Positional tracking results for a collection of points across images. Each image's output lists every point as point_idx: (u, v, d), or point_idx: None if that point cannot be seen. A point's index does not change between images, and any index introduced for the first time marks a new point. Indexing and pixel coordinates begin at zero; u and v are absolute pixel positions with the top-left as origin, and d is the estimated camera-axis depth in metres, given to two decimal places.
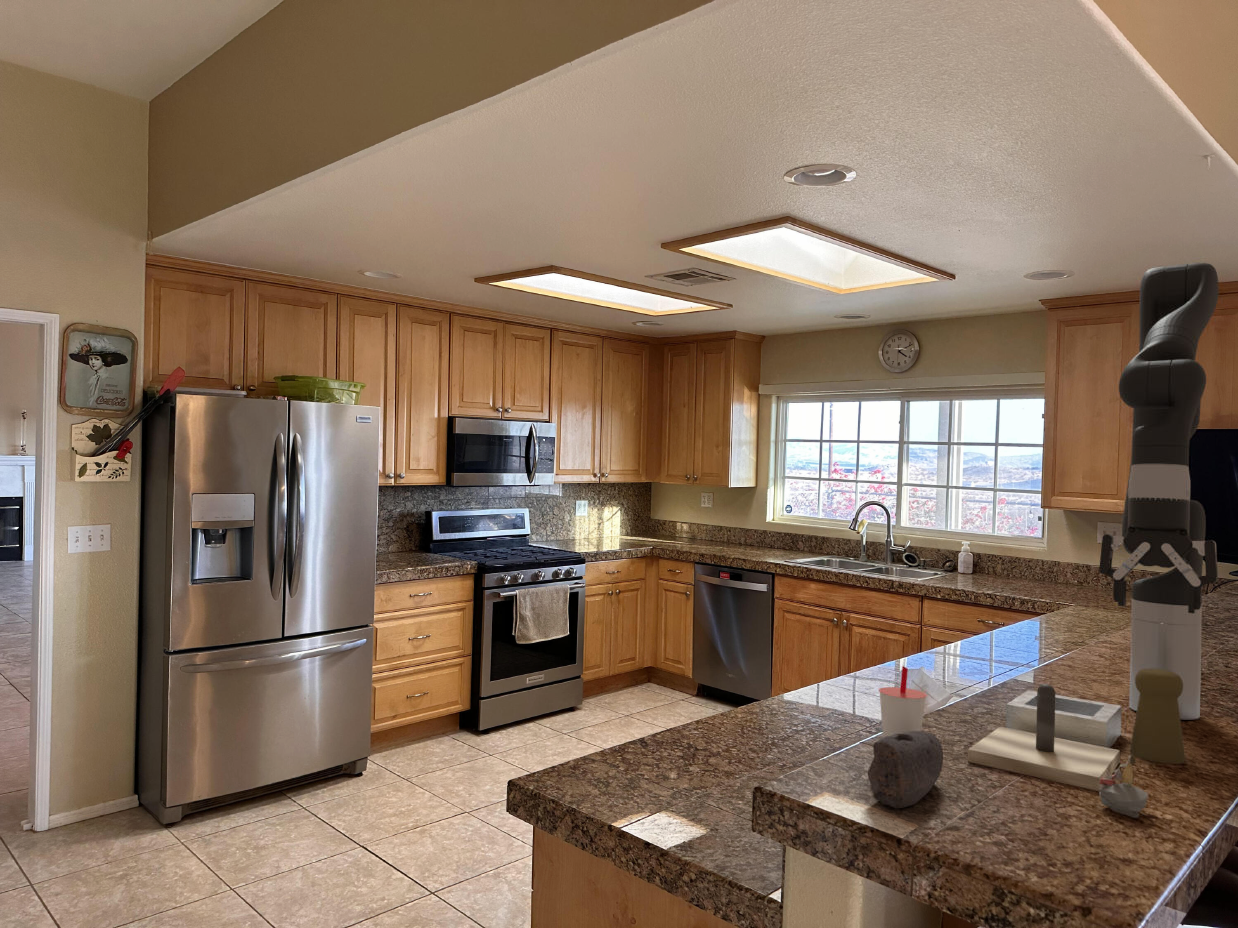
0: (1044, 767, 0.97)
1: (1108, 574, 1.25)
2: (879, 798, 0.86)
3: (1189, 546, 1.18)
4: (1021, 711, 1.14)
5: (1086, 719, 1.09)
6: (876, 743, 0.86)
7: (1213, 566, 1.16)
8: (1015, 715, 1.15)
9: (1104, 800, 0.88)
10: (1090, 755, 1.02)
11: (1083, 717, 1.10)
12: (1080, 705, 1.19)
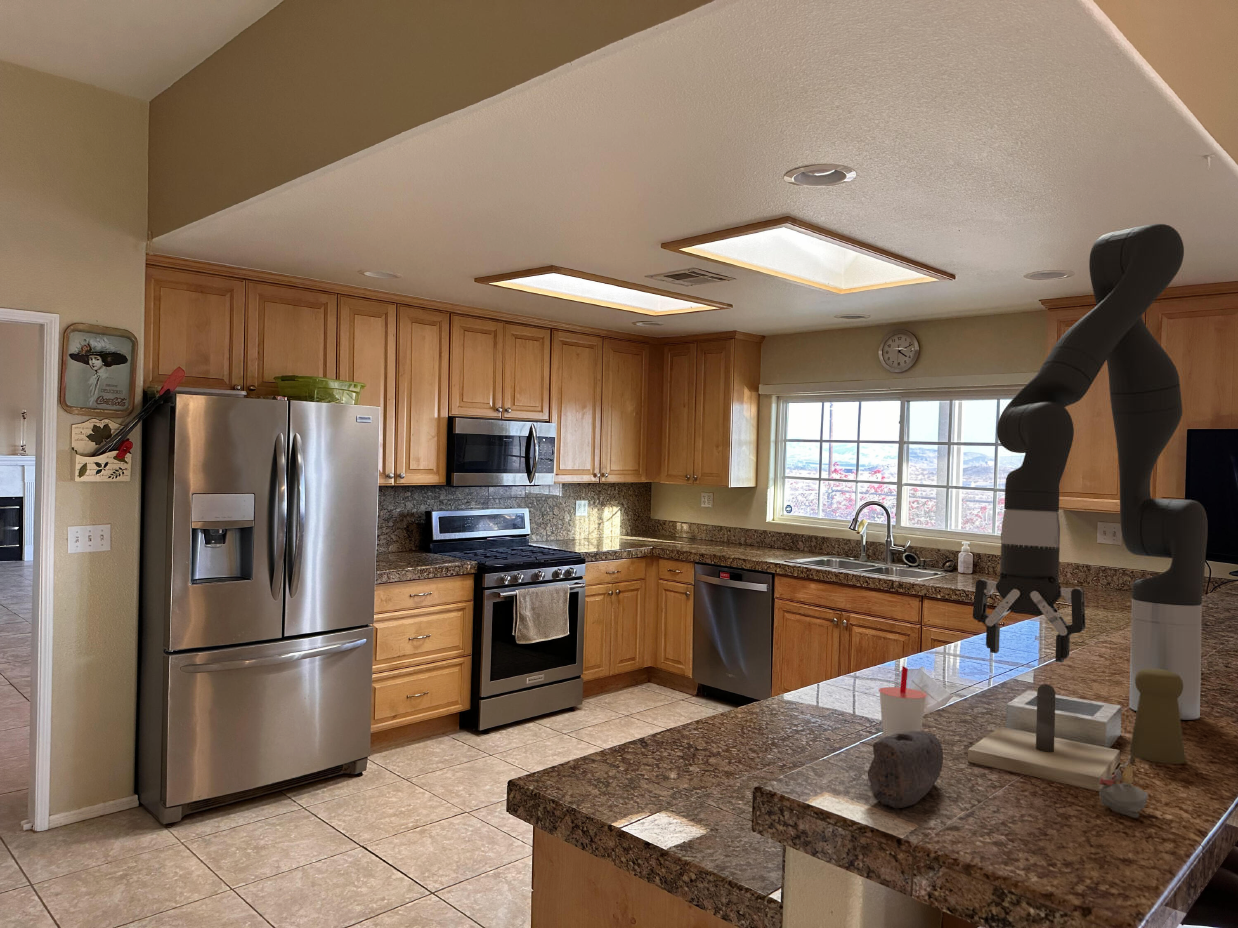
0: (1044, 767, 0.97)
1: (981, 620, 1.23)
2: (879, 798, 0.86)
3: (1057, 594, 1.17)
4: (1021, 711, 1.14)
5: (1086, 719, 1.09)
6: (876, 743, 0.86)
7: (1079, 615, 1.15)
8: (1015, 715, 1.15)
9: (1104, 800, 0.88)
10: (1090, 755, 1.02)
11: (1083, 717, 1.10)
12: (1080, 705, 1.19)
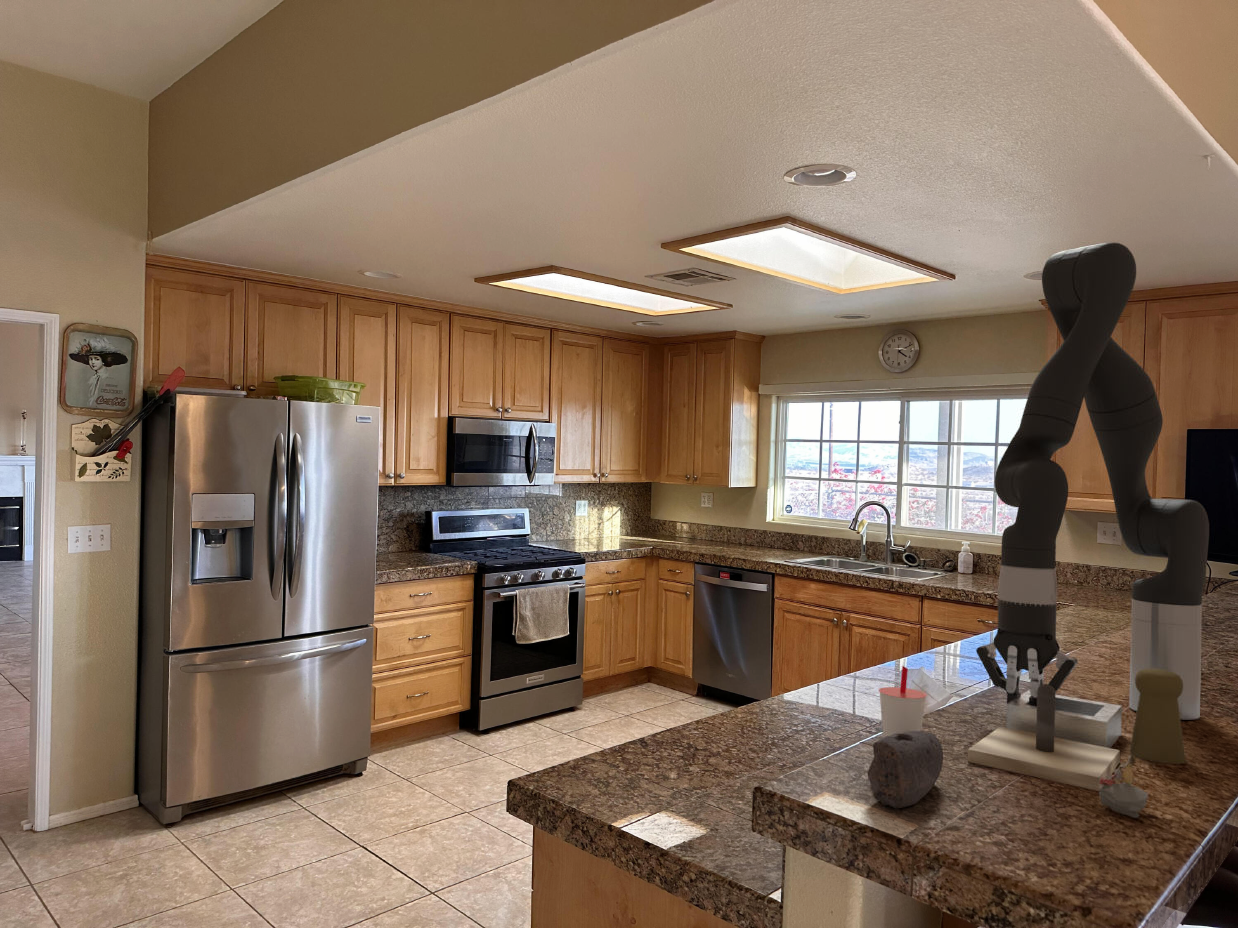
0: (1044, 767, 0.97)
1: (1003, 684, 1.21)
2: (879, 798, 0.86)
3: (1052, 654, 1.17)
4: (1021, 711, 1.14)
5: (1086, 719, 1.09)
6: (876, 743, 0.86)
7: (1058, 682, 1.16)
8: (1015, 715, 1.15)
9: (1104, 800, 0.88)
10: (1090, 755, 1.02)
11: (1083, 717, 1.10)
12: (1081, 705, 1.19)
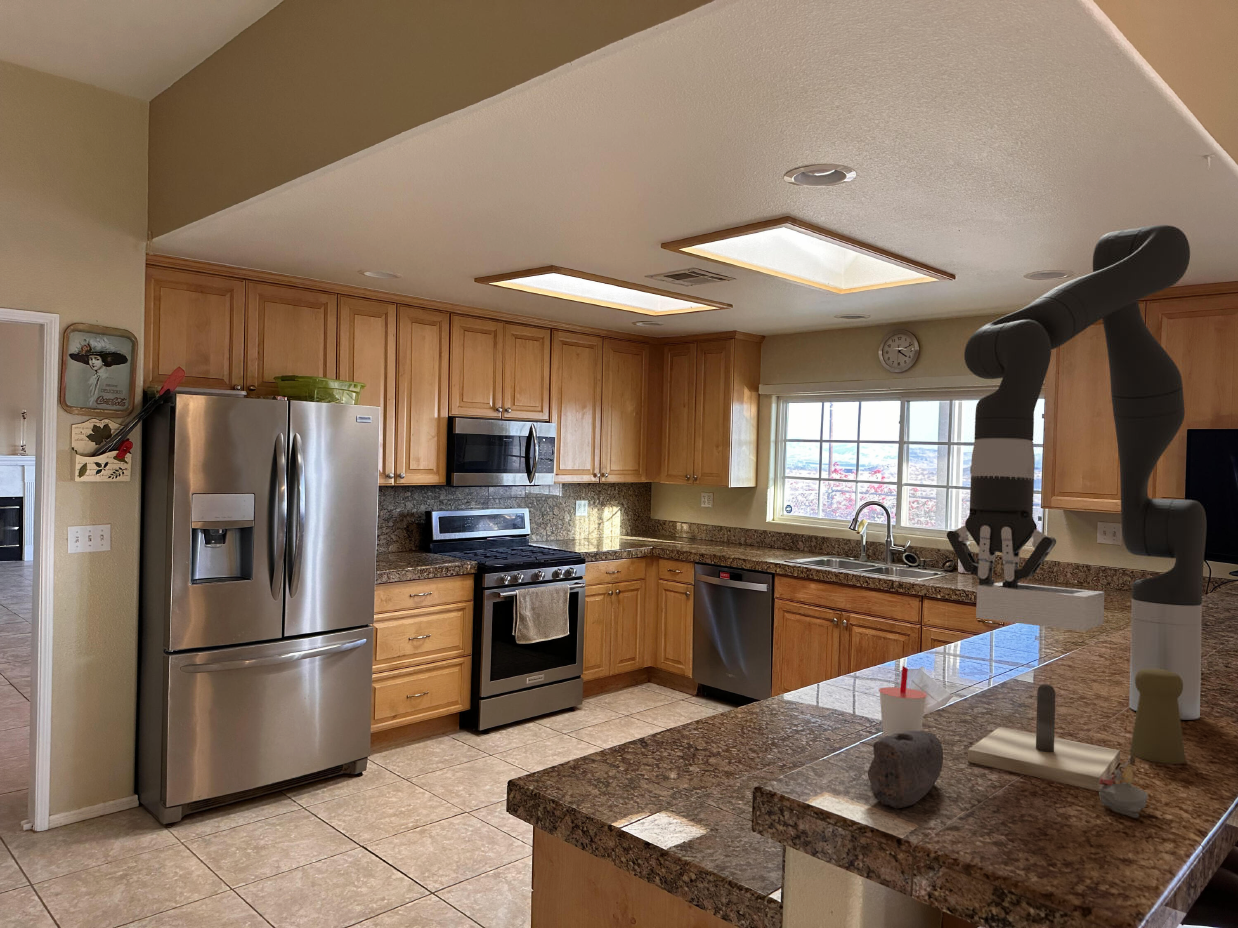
0: (1044, 767, 0.97)
1: (975, 569, 1.10)
2: (879, 798, 0.86)
3: (1028, 533, 1.06)
4: (993, 592, 1.04)
5: (1064, 595, 0.99)
6: (876, 743, 0.86)
7: (1034, 563, 1.05)
8: (986, 597, 1.04)
9: (1104, 800, 0.88)
10: (1090, 755, 1.02)
11: (1060, 594, 0.99)
12: (1059, 593, 1.08)
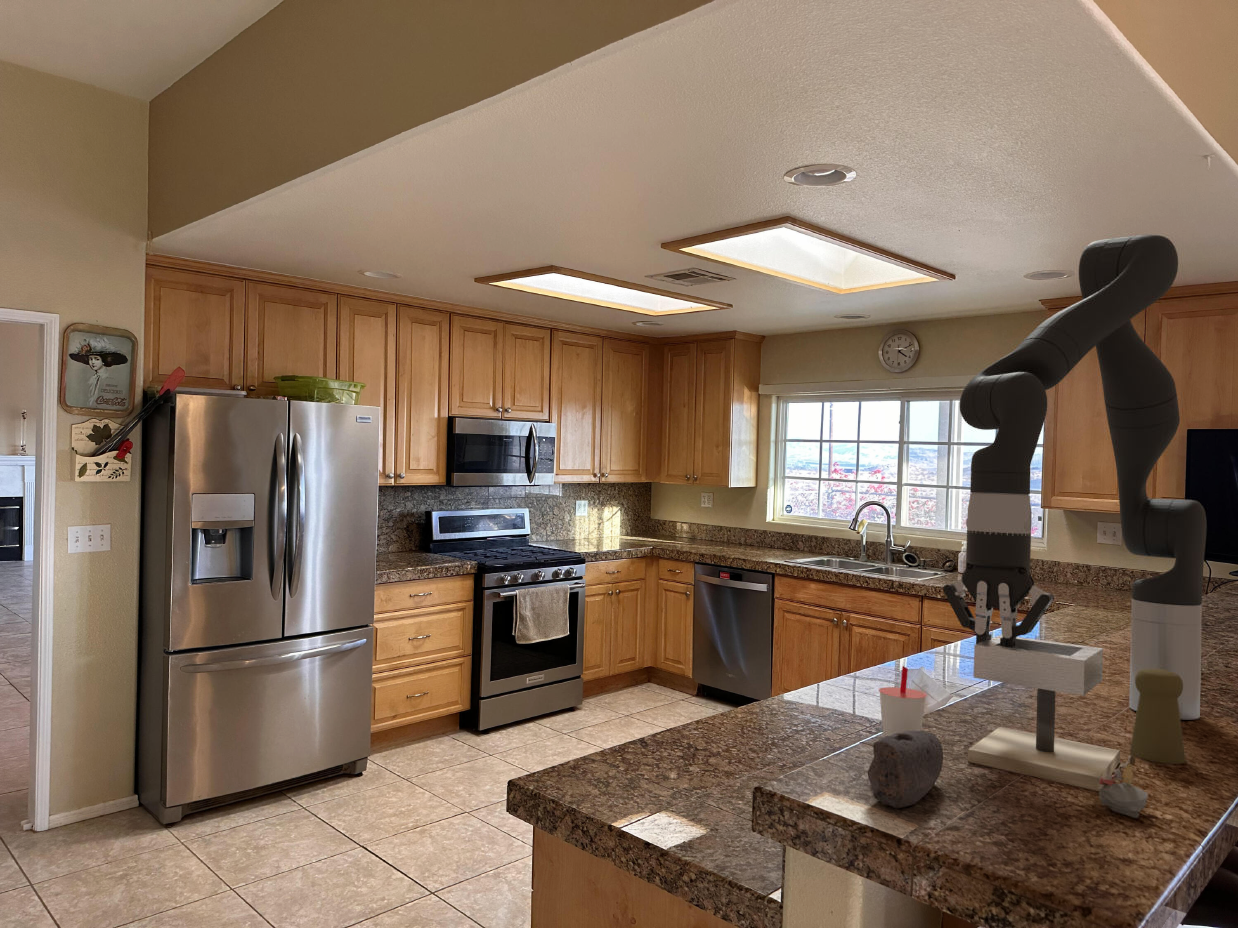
0: (1044, 767, 0.97)
1: (972, 624, 1.09)
2: (879, 798, 0.86)
3: (1025, 589, 1.05)
4: (990, 652, 1.02)
5: (1062, 658, 0.97)
6: (876, 743, 0.86)
7: (1032, 620, 1.04)
8: (984, 657, 1.03)
9: (1104, 800, 0.88)
10: (1090, 755, 1.02)
11: (1059, 656, 0.98)
12: (1057, 648, 1.07)
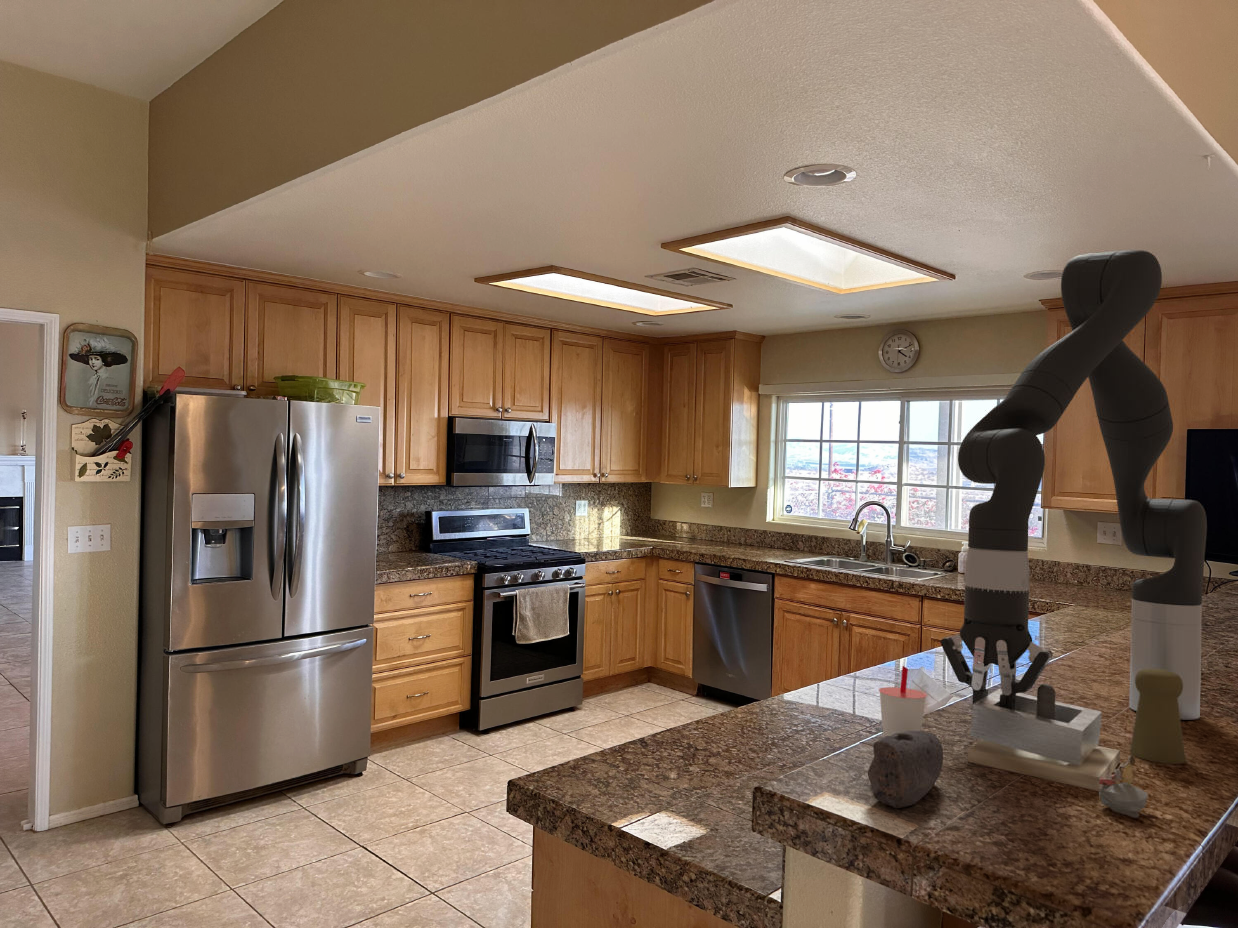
0: (1044, 767, 0.97)
1: (969, 679, 1.09)
2: (879, 798, 0.86)
3: (1023, 646, 1.05)
4: (989, 713, 1.02)
5: (1060, 726, 0.97)
6: (876, 743, 0.86)
7: (1031, 678, 1.04)
8: (982, 717, 1.02)
9: (1104, 800, 0.88)
10: (1090, 755, 1.02)
11: (1057, 724, 0.98)
12: (1056, 709, 1.06)
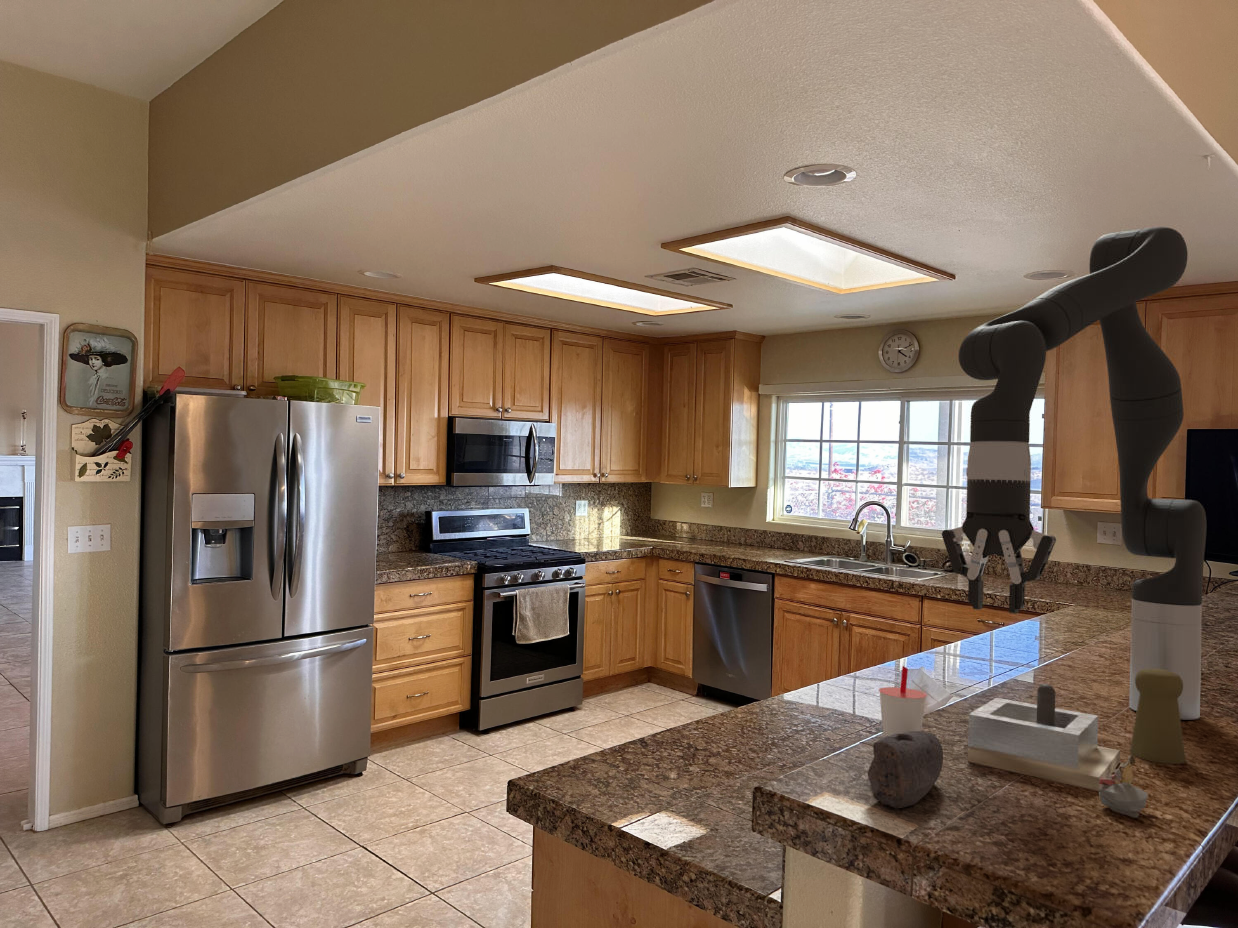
0: (1044, 767, 0.97)
1: (964, 571, 1.11)
2: (879, 798, 0.86)
3: (1026, 535, 1.06)
4: (985, 722, 1.02)
5: (1056, 731, 0.97)
6: (876, 743, 0.86)
7: (1039, 564, 1.05)
8: (979, 726, 1.03)
9: (1104, 800, 0.88)
10: None
11: (1053, 729, 0.98)
12: None
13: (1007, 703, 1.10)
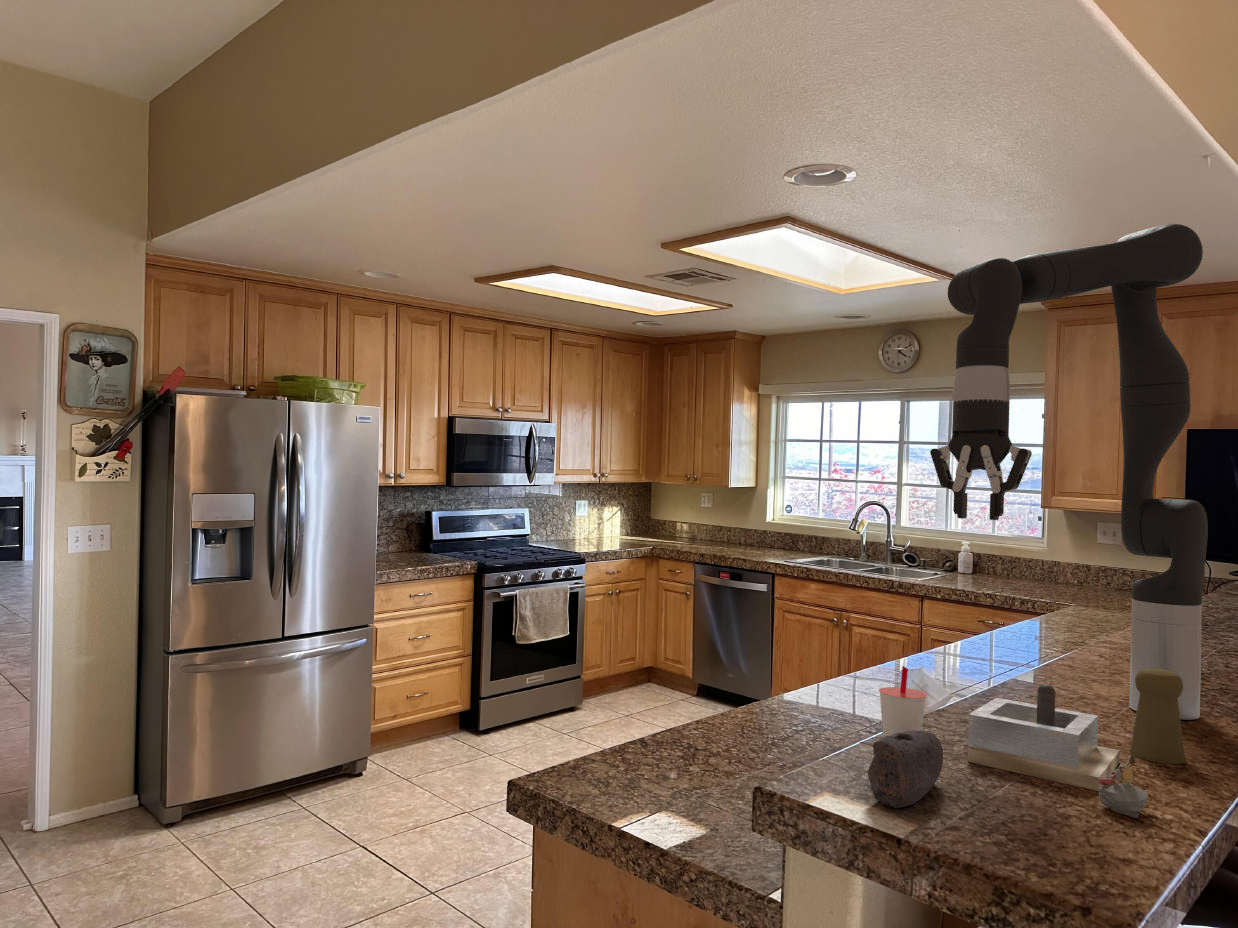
0: (1044, 767, 0.97)
1: (950, 485, 1.23)
2: (879, 798, 0.86)
3: (1005, 449, 1.18)
4: (985, 722, 1.02)
5: (1056, 731, 0.97)
6: (876, 743, 0.86)
7: (1016, 474, 1.17)
8: (979, 726, 1.03)
9: (1104, 800, 0.88)
10: None
11: (1053, 729, 0.98)
12: None
13: (1007, 703, 1.10)
